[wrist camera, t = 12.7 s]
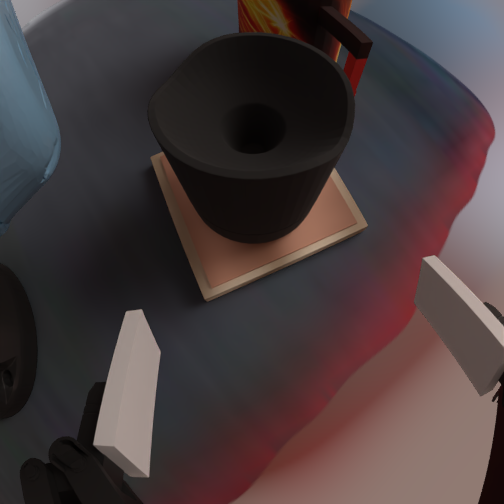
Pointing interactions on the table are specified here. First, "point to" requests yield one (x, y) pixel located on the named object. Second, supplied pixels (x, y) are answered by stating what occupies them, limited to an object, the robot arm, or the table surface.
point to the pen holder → (254, 131)
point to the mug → (310, 27)
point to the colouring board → (263, 254)
